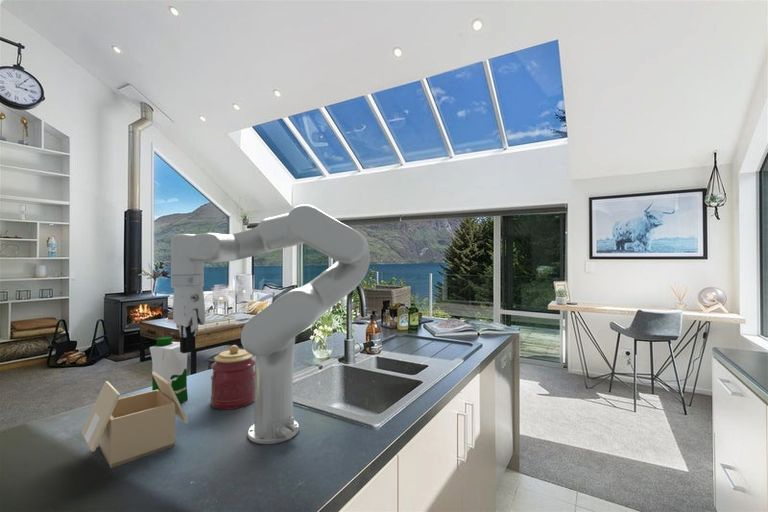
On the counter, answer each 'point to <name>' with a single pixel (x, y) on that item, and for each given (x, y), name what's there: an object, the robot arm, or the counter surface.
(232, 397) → the canister
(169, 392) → the panel
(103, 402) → the outer flap
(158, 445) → the parcel
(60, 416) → the counter surface
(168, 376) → the milk carton
